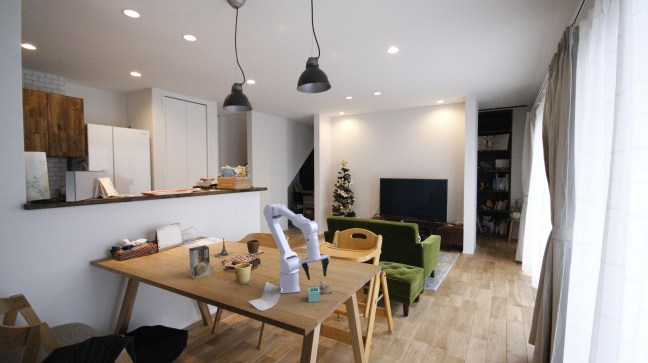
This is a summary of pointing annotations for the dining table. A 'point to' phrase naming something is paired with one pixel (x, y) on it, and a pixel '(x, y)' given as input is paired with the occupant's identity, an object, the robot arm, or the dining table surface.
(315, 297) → the teal hollow block
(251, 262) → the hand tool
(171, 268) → the dining table surface
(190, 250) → the coffee box
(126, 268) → the dining table surface
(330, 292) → the pin plate
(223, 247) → the eiffel tower figurine
